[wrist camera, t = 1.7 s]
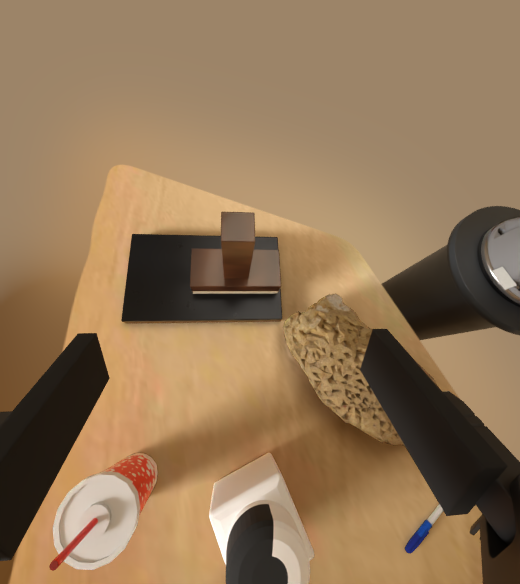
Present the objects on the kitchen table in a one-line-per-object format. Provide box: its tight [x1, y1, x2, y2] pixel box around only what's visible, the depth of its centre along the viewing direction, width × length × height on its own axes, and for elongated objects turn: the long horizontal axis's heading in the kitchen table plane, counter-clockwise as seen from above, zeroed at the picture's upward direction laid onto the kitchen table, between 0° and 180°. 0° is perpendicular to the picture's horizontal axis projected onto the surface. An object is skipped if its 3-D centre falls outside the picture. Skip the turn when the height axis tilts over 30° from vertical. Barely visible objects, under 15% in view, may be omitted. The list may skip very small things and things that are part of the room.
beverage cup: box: [50, 453, 158, 570], centre depth 22 cm, size 6×6×14 cm
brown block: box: [190, 212, 281, 294], centre depth 29 cm, size 11×5×12 cm, turn 92°
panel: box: [122, 234, 282, 323], centre depth 36 cm, size 20×12×2 cm, turn 92°
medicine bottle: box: [209, 453, 314, 584], centre depth 24 cm, size 7×7×12 cm
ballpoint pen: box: [405, 504, 443, 553], centre depth 30 cm, size 10×1×1 cm, turn 129°
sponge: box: [283, 294, 439, 446], centre depth 31 cm, size 13×8×20 cm
